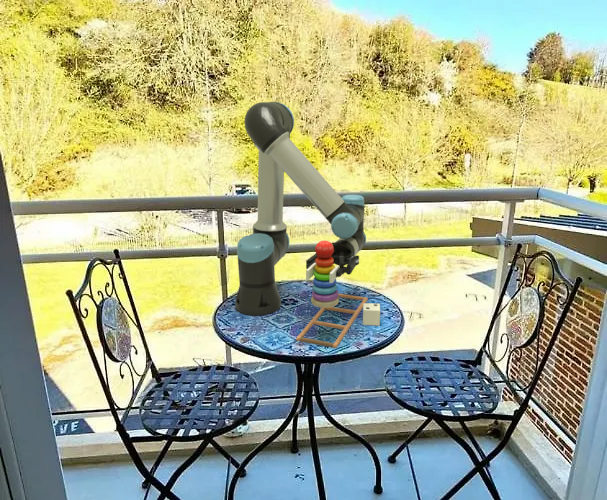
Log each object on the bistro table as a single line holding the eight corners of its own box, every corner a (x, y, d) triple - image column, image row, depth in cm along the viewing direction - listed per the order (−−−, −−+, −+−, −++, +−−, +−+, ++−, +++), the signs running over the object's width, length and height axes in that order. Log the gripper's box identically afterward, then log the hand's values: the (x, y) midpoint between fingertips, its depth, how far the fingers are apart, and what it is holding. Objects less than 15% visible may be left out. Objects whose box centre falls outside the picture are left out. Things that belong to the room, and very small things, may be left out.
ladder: (296, 340, 131) (296, 337, 131) (334, 295, 161) (334, 292, 160) (336, 348, 127) (336, 345, 126) (367, 299, 156) (367, 297, 156)
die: (362, 325, 139) (363, 309, 138) (363, 317, 144) (363, 302, 142) (379, 325, 139) (380, 310, 137) (379, 318, 143) (379, 303, 142)
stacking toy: (309, 297, 135) (309, 236, 129) (336, 296, 135) (337, 235, 129) (312, 309, 127) (311, 245, 121) (340, 308, 128) (341, 244, 122)
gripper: (372, 265, 142) (352, 294, 121) (315, 258, 149) (286, 285, 128) (373, 242, 140) (353, 267, 119) (315, 236, 146) (286, 259, 126)
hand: (319, 276), depth 124 cm, fingers closed on stacking toy, 6 cm apart
